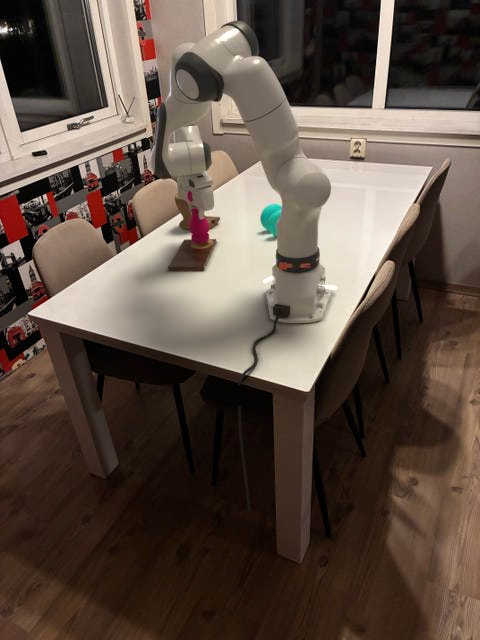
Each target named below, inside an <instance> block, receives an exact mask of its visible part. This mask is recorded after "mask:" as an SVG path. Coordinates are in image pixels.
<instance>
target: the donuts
mask: <svg viewBox="0 0 480 640" xmlns="http://www.w3.org/2000/svg"><path fill="white" fill-rule="evenodd" d="M281 209H282V204H279V203H270V204H268V205H267V206H265V207H264V208H263V209H262V211H261V213H260V216H259V217H260V219H259V220H260V225H261V226H262V227H263V228H264V229H265V230H268V231H269V232H270V234H271V235H273V236H274V237H277V229H276V224H277V221H278V220H279V219H280V215H281Z"/></svg>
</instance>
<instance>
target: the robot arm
mask: <svg viewBox="0 0 480 640" xmlns="http://www.w3.org/2000/svg"><path fill="white" fill-rule="evenodd" d="M259 53H260V44H259V40H258V38H257V35H256V33H255V32H254V30H253V29H252V27H251V26H250V25H249V24H247V23H246V22H244V21H243V20H231V21H229V22H226V23H224V24H223V25H221V26H220V27H219V28H218V29H216V30H215V31H213V32H211V33H209V34H208V35H205V36H204V37H202V38H201V39H200V40H198V41H197V42H191V41H189V42H184V43H181V44H179V45H178V46H177V47H176V48H175V49H174V50H173V52H172V55H171V59H170V66H169V92H168V94H167V96H166V98H165V99H164V101H163V102H161V103H160V104H158V105H159V106H158V108H157V112H156V116H155V123H154V124H155V125H154V133H153V140H152V141H153V142H152V147H151V150H150V157H149V159H150V160H149V163H150V168H151V171H152V172H153V174H154V175H155V176H156V177H158V178H159V179H160V180H162V181H165V180H169V179H173V178H176V177H177V179H176V185H177V193H178V195H179V197H180V198H181V199H183V200H185V201H187V204H188V206H189V209H190V213H191V214H192V209H191V207H190V203H191V204H192V205H194V206H196V207H198V210H199V213H198V214H197V215H198V218H199V219H204V215H205V212H208V211H212V210H213V209H214V208H215V195H214V189H213V185H214V179H213V177H211V176H210V173H208V172H207V171H208V170H209V169H210V168H211V166H212V165H213V160H212V152H211V145H210V144H208V142H206V141H204V140H202V138H201V133H200V129H199V126H198V125H197V124H194V123H197V122H199V121H200V120H202V119H203V118H205V117H206V116H207V115H208V113H209V112H210V110H211V107H212V104H213V102H215V103H219V102H221V101H222V98H223V95H226V96H228V97H230V99H231V100H232V101H233V102H234V104H235V105H236V108H237V110H238V113H239V115H240V117H241V119H242V121H243V124H244V126H245V128H246V130H247V132H248V134H249V136H250V138H251V140H252V142H253V144H254V147H255V149H256V152H257V154H258V156H259V160H260V163H261V166H262V169H263V172H264V174H265V177H266V180H267V182H268V184H269V186H270V188H271V189H272V190H273V191H274V192H275V193H277V194H278V195H279V196H280V200H281V206H282V209H281V215H280V219H279V220H278V221H277V224H276V229H277V236H276V247H277V248H276V250H275V264H274V265H273V267H271V272H272V276H270V277H267V278H265V279H263V283H264V284H266V283H268V282H270V281H272V284H270V288H268V289H266V291H265V297H266V303H267V309H268V314H269V318H270V320H272V321H273V328H272V330H271V331H270V332H269V333H268V334H266V335H264V336H261V337H259V338H257V339H256V340H254V342H253V344H252V353H253V356H254V362H253V363H252V364H251V365H250V366H249V367H248V368H247V369H245V370H244V371H243V372H242V374H241V375H240V377H239V379H238V382H237V384H238V386H241V385H242V382H243V381H244V378H245V376H246V375H247V374H248V373H249V372H250V371H252V370H253V369H254V368H255V367H256V366H257V364H258V360H259V356H258V352H257V350H256V349H257V348H256V346H257V344H258V343H259V342H261V341H263V340H265V339H267V338H269V337H270V336H272V335H274V333H275V332H276V329H277V323H284V324H311V323H316V322H319V321H322V320H323V318H324V316H325V313H326V311H327V307H328V305H329V303H330V300H331V297H332V295H333V294H332V290H337V289H338V287H337V286H336V285H326V279H327V278H326V272H325V271H326V267H325V266H324V265H323V264H321V262H320V260H321V259H320V258H321V253H320V248H319V224H320V223H319V222H320V216H321V213H322V209H323V207H324V206H325V204H326V203H327V202H328V200H329V198H330V197H331V193H332V185H331V184H332V183H331V181H330V179H329V177H328V175H327V174H326V173H325V171H324V170H323V169H322V168H321V167H320V166H319V165H317V164H315V163H314V162H312V161H311V160H309V159H308V157H306V155H305V154H304V152H303V149H302V146H301V142H300V141H301V140H300V137H299V136H300V135H299V131H300V128H299V124H298V122H297V120H296V118H295V115H294V113H293V110H292V108H291V105H290V103H289V101H288V99H287V96H286V94H285V91H284V89H283V87H282V85H281V83H280V81H279V79H278V78H277V76H276V74H275V72H274V71H273V69H272V68H271V66H270V65H269V63H268V62H267V61H266V59H264V58H263V57H261V56H259ZM172 134H173V142H171V135H172ZM170 142H171V143H170ZM188 191H191V192H192V197H193V202H190V201H189V200H188V197H187V194H188ZM237 422H238V423H237V424H238V436H239V437H238V438H239V445H240V446H239V447H240V455H241V456H240V457H241V463H242V471H243V478H244V486H245V495H246V503H247V511H248V512H251V511H252V510H251V499H250V490H249V482H248V476H247V475H248V474H247V467H246V458H245V449H244V441H243V439H244V438H243V428H242V427H243V426H242V405H237Z"/></svg>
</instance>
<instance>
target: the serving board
mask: <svg viewBox="0 0 480 640" xmlns="http://www.w3.org/2000/svg"><path fill="white" fill-rule="evenodd" d="M217 242H218V241H217V239H216V238H209V240H208V241H206V242H203V243H195V242H193V241H192V238H190V239H183V241H182V243H181V244H180V246H179V247H178V249H177V251H176V252H175V254H174V256H173V257H172V259H171V260H170V262H169V264H168V266H167V270H168V272H203V271H205V269H206V267H207V265H208V262H209V260H210V258H211V256H212V254H213V252H214V249H215V247H216V245H217Z"/></svg>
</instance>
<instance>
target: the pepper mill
mask: <svg viewBox="0 0 480 640" xmlns="http://www.w3.org/2000/svg"><path fill="white" fill-rule="evenodd" d="M187 197H188V200H189V201H190V202H193V197H192V192H191V191H188V194H187ZM190 207H191V209H192V217H191V220H190V224H189V228H188V231H189V233H191V235H190V239H192V241H193V242H195V243H203V242H206V241H208V240H209V239H210V234H209V232H210V230H211V228H210V226H209V222H208V221H207V219H206V217H205V216H206V215H205V214H204V219H199V218H198V215H197V214H198V213H199V210H198V207H196V206H194V205H192V204H191V203H190Z"/></svg>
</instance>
